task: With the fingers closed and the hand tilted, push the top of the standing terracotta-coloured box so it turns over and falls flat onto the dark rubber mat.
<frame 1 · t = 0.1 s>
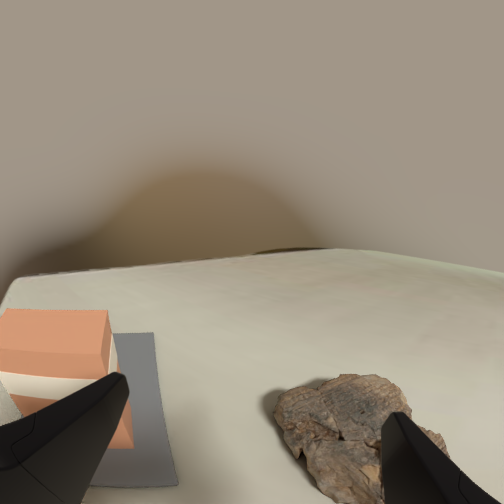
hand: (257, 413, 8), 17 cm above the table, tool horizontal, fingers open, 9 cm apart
tall box: (86, 426, 19), resting on mat
mat: (90, 396, 23), on the table
weathered wood piece: (367, 458, 20), on the table
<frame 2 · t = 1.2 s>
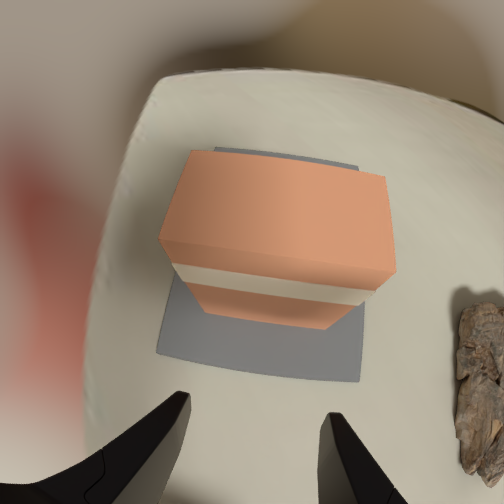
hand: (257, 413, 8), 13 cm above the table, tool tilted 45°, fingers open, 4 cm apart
tall box: (269, 292, 22), resting on mat
mat: (276, 244, 24), on the table
weathered wood piece: (491, 399, 17), on the table
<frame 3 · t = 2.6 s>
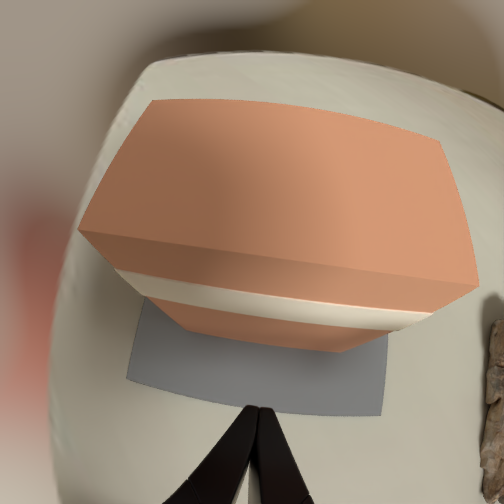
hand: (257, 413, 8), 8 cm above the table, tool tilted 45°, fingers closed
tall box: (269, 304, 17), resting on mat
mat: (278, 243, 19), on the table
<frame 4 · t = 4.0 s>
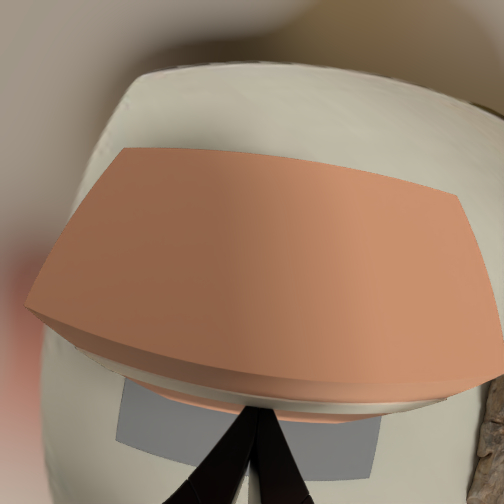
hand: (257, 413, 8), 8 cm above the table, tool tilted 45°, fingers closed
tall box: (259, 375, 15), point 1 cm above the table, tilted 10°, touching mat
mat: (269, 305, 17), on the table
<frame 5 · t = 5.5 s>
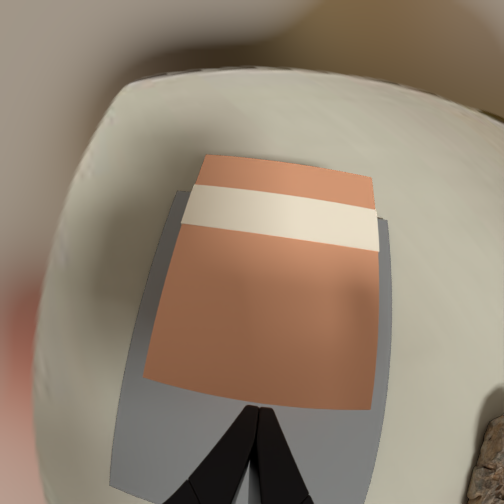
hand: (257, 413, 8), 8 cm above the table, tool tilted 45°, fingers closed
tall box: (256, 397, 12), point 3 cm above the table, tilted 90°, touching mat
mat: (260, 363, 15), on the table
weathered wood piece: (499, 496, 8), on the table
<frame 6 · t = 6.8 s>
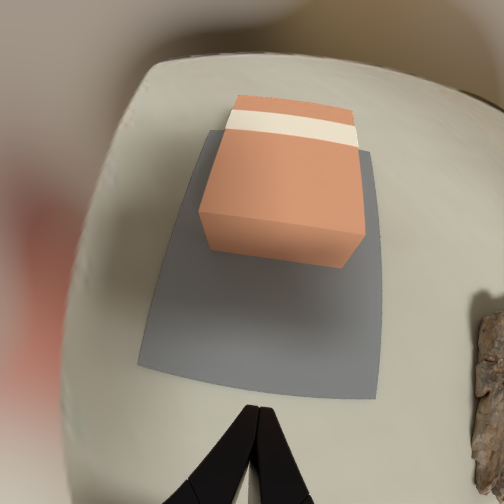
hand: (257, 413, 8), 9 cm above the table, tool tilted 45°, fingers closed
tall box: (279, 243, 17), point 3 cm above the table, tilted 90°, touching mat
mat: (279, 238, 21), on the table
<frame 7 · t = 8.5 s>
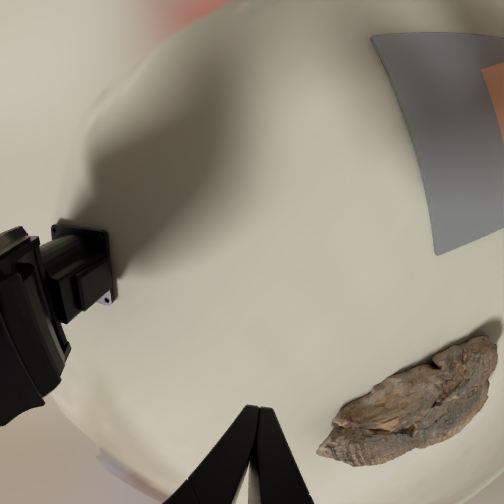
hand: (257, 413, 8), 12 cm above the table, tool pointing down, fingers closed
weathered wood piece: (403, 404, 23), on the table
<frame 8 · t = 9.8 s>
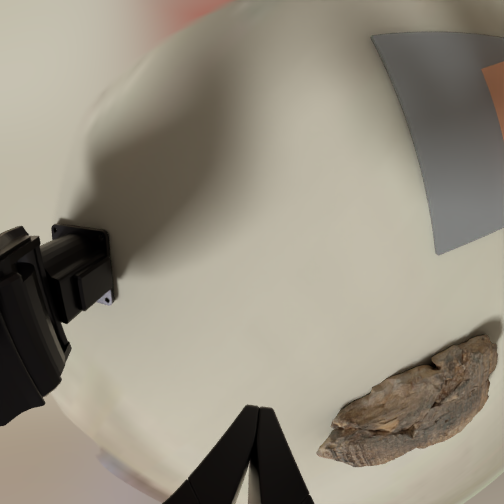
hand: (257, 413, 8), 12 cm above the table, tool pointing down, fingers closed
weathered wood piece: (404, 404, 23), on the table
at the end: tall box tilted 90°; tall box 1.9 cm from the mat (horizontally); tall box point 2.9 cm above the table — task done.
